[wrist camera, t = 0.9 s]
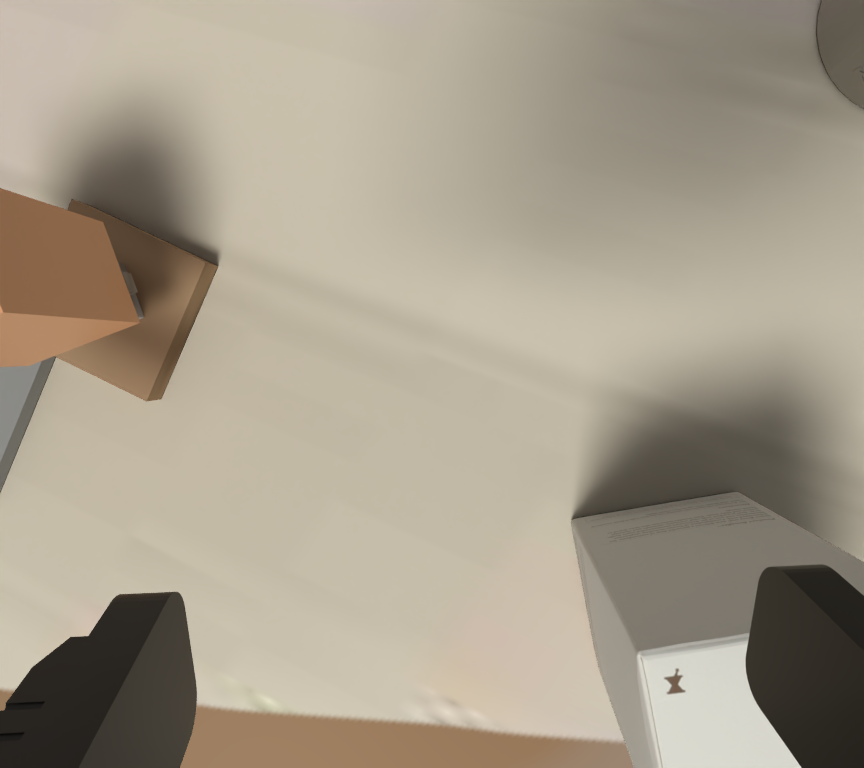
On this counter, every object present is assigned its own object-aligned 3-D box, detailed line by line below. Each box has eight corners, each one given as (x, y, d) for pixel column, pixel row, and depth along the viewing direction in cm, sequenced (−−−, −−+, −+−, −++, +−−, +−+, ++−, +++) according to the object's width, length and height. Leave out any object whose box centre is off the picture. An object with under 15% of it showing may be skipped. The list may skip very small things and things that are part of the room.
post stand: (0, 242, 36) (-262, 184, 23) (181, 167, 35) (8, 65, 22) (71, 432, 36) (-151, 476, 24) (253, 364, 35) (122, 373, 22)
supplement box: (597, 680, 34) (681, 938, 19) (567, 516, 34) (628, 648, 19) (773, 656, 33) (1004, 907, 18) (744, 487, 33) (955, 603, 18)
